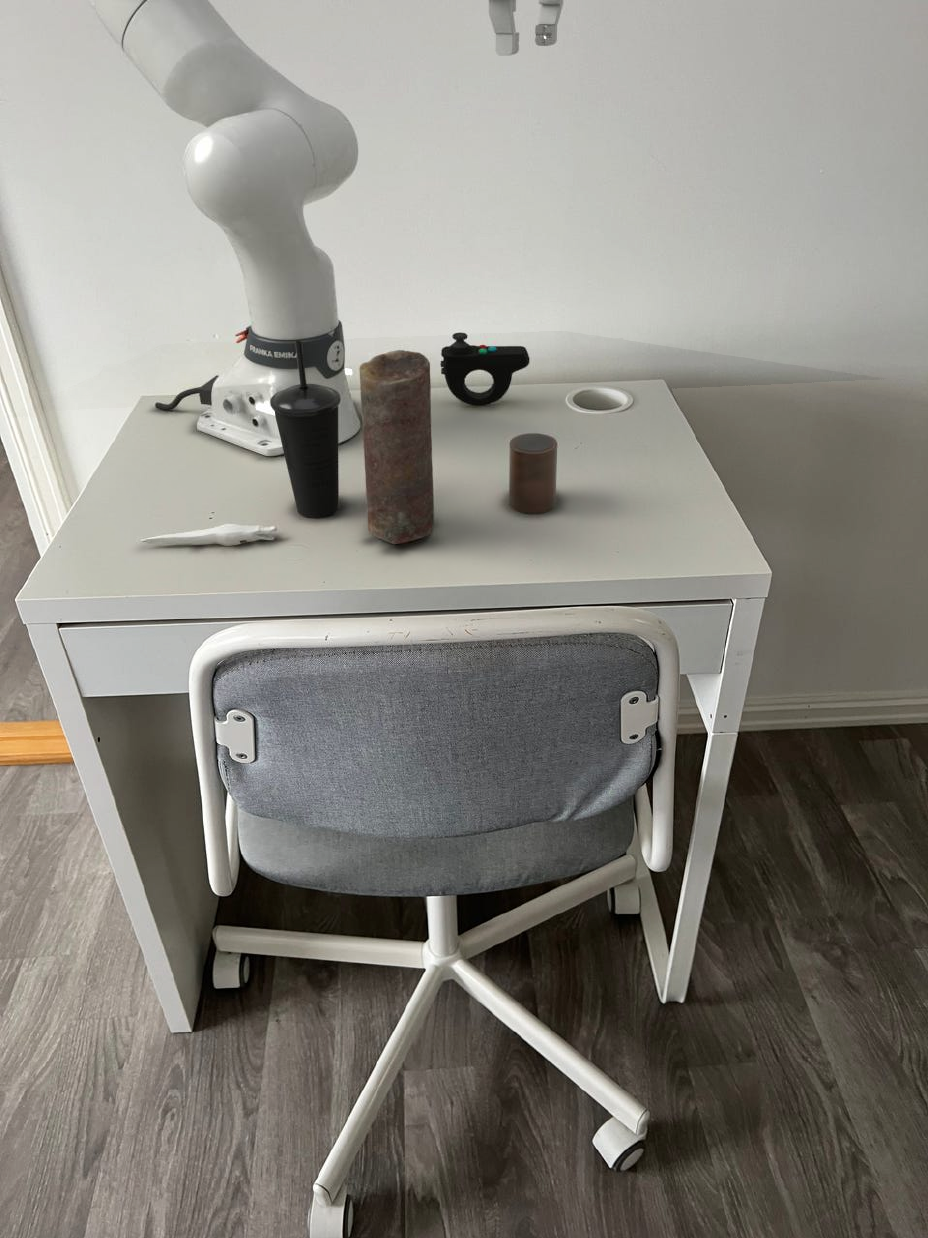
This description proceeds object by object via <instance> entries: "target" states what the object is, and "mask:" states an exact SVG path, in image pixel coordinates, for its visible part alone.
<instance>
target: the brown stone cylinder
mask: <svg viewBox="0 0 928 1238" xmlns="http://www.w3.org/2000/svg"><path fill="white" fill-rule="evenodd" d="M358 369H359V387H360V406H361V420H362V421H361V422H362V423H361V424H362V440H363V455H364V471H365V476H364V477H365V496H366V497H365V498H366V513H367V515H366V517H367V529H368V532H369V534H370V535H372V536H375V537H376V538H378V539H380V540H382V541H384V542H387V543H389V544H390V545H397V544H405V543H408V542H410V541H415V540H419V539H422V538H425V537H426V536H427V537H428V535H429V534H431V532H432V531H433V528H434V526H435V503H434V502H435V499H434V497H435V496H434V476H433V475H434V473H433V472H434V471H433V470H434V468H433V443H432V441H433V440H432V439H433V438H432V399H431V398H432V397H431V394H432V393H431V392H432V391H431V389H432V387H431V386H432V385H431V363H430V360H429V359H428V357H426V355H424V354H422V353H421V352H418V351H411V350H404V349H398V350H391V351H388V352H386V353H380V354H378V355H376V356H373V357H372V358H371V359H370V360H369V361H368V362H367V361H366V362H363V363H361V365H359V368H358Z"/></svg>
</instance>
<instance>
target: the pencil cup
mask: <svg viewBox="0 0 928 1238" xmlns="http://www.w3.org/2000/svg"><path fill="white" fill-rule="evenodd" d="M557 467H558V441H557V439H556V438H554V437H552V436H550V435H548V434H544V433H537V432H536V433H535V432H534V433H533V432H529V433H521V434H518V435H516V436H514V437H513V438H511V439H510V441H509V466H508V472H509V473H508V476H509V477H508V479H509V482H508V504H509V506H510V507H511V508H512V509H513V510H514V511H516V512H519V513H522V514H529V515H535V514H537V515H538V514H542V513H546V512H549V511H551V510H552V509H553V508H554V507H555V505H556V495H557V472H558V471H557V470H558V469H557Z"/></svg>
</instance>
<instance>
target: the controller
mask: <svg viewBox="0 0 928 1238" xmlns="http://www.w3.org/2000/svg"><path fill="white" fill-rule="evenodd" d="M452 339H453V340H455V341H454V342H453V343H452V344H450V345H445V346H444V347H442V348H441V351H440V355H441V357H442V360H440V363H439V364H440V365H439V367H440V368H441V369H440V374H441V375H444V379H445V383H446V385H447V387H448V389H449V391H450V392H451V394H452V395H453V396H454V397H455V398H456V399H457V400H459V401H460V402H462V403H463V404H466V405H469V406H473V407H483V406H488V405H491V404H494V403H496V402H498V401H499V400H501V399H502V398H503V397H504V396H505V395H506V394H507V392H508V390H509V388H510V386H511V384H512V379H513V374H514V373H516V372H518V371H521V370H523V369H526V368H527V367H528V366H529V365H530V361H531V359H530V355H529V352H528V349H527V348H526V347H525V346H523V345H486V344H480V345H473V344H472V345H471V344H469V343H467V342H466V341H465V340H467V339H468V334H467V333H465V332H455V333H453V334H452ZM474 371H475V372H476V371H484V372H486V373H488V374H489V375H490V376H491V379H492V384H491V386H490V387H489V388H488V389H487V390H485V391H481V392H476V391H473V390H471V389H470V388H468V386H467V385H466V378H467V376H468V375H469V374H470V373H472V372H474Z"/></svg>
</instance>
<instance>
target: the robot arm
mask: <svg viewBox="0 0 928 1238" xmlns="http://www.w3.org/2000/svg"><path fill="white" fill-rule="evenodd" d="M87 1H88V3H89V5H90V6H91V8H92V10H93V11H94V14H95V15H96V16H97V17H98V19H99V21H100V22H101V23H102V25H103V26H104V28H105V30H106V31H107V33H108V34H109V35H110V36H111V38H112V39H113V41H114V42H115V43H116V44H117V46H118V47H119V48H120V49H121V51H122V52H123V53H124V54H125V55H126V57H127V58H128V59H129V60H130V62H131V63H132V64H133V65H134V66H135V67H136V69H137V70H138V71H139V73H140V74H141V75H142V76H143V77H144V79H145V80H146V81H147V82H148V83H149V85H150V86H151V87H152V88H153V90H154V91H155V92H156V93H157V95H159V97H160V98H161V99H162V101H164V103H165V104H166V105H167V106H168V107H169V108H170V110H172V111H173V112H175V113H176V114H177V115H179V116H181V117H183V118H185V119H187V120H189V121H192V122H195V123H198V124H199V125H201V126H204V127H205V128H204V130H202V131H200V132H199V133H198V134H197V135H195V136H194V137H193V138H192V139H190V141H189V142H188V144H187V146H186V148H185V151H184V154H183V158H182V176H183V180H184V185H185V187H186V190H187V193H188V195H189V197H190V198H191V200H192V202H193V203H194V205H195V206H196V208H197V209H198V210H199V211H200V212H201V214H202V215H204V216H205V217H206V218H208V219H209V220H211V221H212V222H213V223H215V224H216V225H217V226H218V227H219V228H220V229H221V231H223V233H224V235H225V236H226V238H227V240H228V241H229V243H230V245H231V247H232V249H233V251H234V253H235V255H236V258H237V260H238V263H239V268H240V270H241V274H242V279H243V283H244V290H245V294H246V301H247V306H248V313H249V320H250V324H249V326H246V327H245V329H244V330H242V331H240V332H238V333H237V334H235V337H238V338H237V339H236V340H235V343H236V344H239V343H241V342H244V341H245V340H246V341H245V346H244V350H243V354H242V355H240V357H238V358H237V359H236V360H235V361H234V362H233V363H232V364H231V365H229V366H228V367H227V368H226V369H225V370H224V371H222V372H221V373H220V374H218V375H215V376H213V377H212V378H211V379H209V380H208V381H207V382H205V383H204V384H202V385H201V386H198V387H193V388H189V389H186V390H183V391H181V392H179V393H178V394H177V395H176V396H175V398H174V399H173V400H172V401H171V402H170V403H169V404H167V403H162V402H155V404H154V407H155V409H157V410H158V409H159V410H162V411H171V410H174V409H175V408H177V407H178V405H179V404H180V403H181V401H182V400H184V399H186V398H187V397H189V396H193V395H196V394H198V395H199V401H200V405H204V406H205V405H207V406H211V407H210V408H208V409H206V410H205V411H204V412H203V413H202V414H201V415H200V416H199V417H198V419H197V421H196V427H197V430H198V431H200V432H202V433H204V434H207V435H210V436H212V437H215V438H218V439H220V440H222V441H226V442H228V443H229V444H230V443H231V444H233V445H236V446H237V447H238V446H239V447H241V448H244V449H247V450H249V451H251V452H254V453H257V454H259V455H262V456H264V457H265V456H266V457H274V456H275V457H276V456H280V455H284V451H283V447H282V443H281V439H280V434H279V430H278V426H277V422H276V417H275V413H274V411H273V410H272V408H271V406H270V399H271V397H272V396H273V395H274V394H276V393H277V392H279V391H282V390H284V389H286V388H289V387H291V386H294V385H299V384H300V378H299V370H298V362H297V353H296V345H295V341H296V340H301V341H302V350H303V358H304V366H305V375H306V383H307V384H317V385H321V386H326V387H329V388H332V389H334V390H336V391H337V392H338V393H339V394H340V398H341V401H340V404H339V405H338V445H339V444H341V443H344V442H345V441H347V440H349V439H351V438H353V437H354V436H355V435H356V434H357V433H358V432H359V430H360V428H361V426H362V425H361V424H362V423H361V420H360V418H359V416H358V413H357V411H356V408H355V405H354V401H353V398H352V395H351V394H352V393H351V391H350V387H349V383H348V379H347V376H348V375H350V376H352V375H353V369H351V368H346V367H345V363H346V348H345V347H346V345H345V336H344V329H343V323H342V321H341V319H339V312H338V311H339V310H338V301H337V300H338V299H337V291H336V289H337V288H336V280H335V269H334V264H333V261H332V259H331V258H330V256H329V254H327V253H326V251H325V250H323V249H322V248H320V247H319V246H317V245H315V243H314V241H313V239H312V237H311V234H310V232H309V229H308V227H307V224H306V219H305V216H304V215H305V214H304V206H307V205H309V204H312V203H314V202H317V201H320V200H322V199H325V198H327V197H329V196H331V195H332V194H333V193H334V192H336V191H337V190H339V188H340V187H342V185H344V184H345V182H347V181H348V180H349V179H350V178H351V177H352V175H353V174H354V171H355V169H356V167H357V165H358V164H357V163H358V159H359V141H358V139H357V135H356V132H355V128H354V127H353V125H352V123H351V122H350V120H349V119H348V117H347V116H346V115H345V114H344V113H343V112H342V111H341V110H340V109H339V108H337V107H336V106H333V105H331V104H329V103H327V102H325V101H321V100H320V99H318V98H315V97H314V96H312V95H310V94H309V93H307V92H305V91H304V90H303V89H301V88H300V87H299V86H298V85H296V84H295V83H293V82H292V81H291V80H289V79H288V78H287V77H286V76H284V75H283V74H282V73H280V72H279V71H278V70H277V69H275V68H274V67H273V66H272V65H270V64H269V63H268V62H267V61H265V60H264V59H263V58H262V57H260V56H259V55H258V54H257V53H256V52H255V51H254V50H253V49H251V48H250V47H249V46H248V45H247V44H246V43H245V41H244V40H242V39H241V38H240V36H239V35H237V33H236V32H235V31H234V30H233V28H232V27H231V26H230V24H228V23H227V21H226V20H225V19H224V17H223V16H222V15H221V14H220V13H219V12H218V10H217V9H216V8H215V6H213V4H212V3H211V2H210V1H209V0H87ZM538 4H539V5H540V9H539V16H538V24H536V25H535V26H534V34H535V36H534V43H535V44H536V45H537V46H538V47H548V46H553V45H555V44H557V41H558V24H559V21H560V18H561V14H562V10H563V6H564V0H538ZM516 11H517V0H488V15H489V18H490V21H491V25H492V28H493V32H494V37H495V53H496V54H497V56H502V57H503V56H504V57H505V56H506V57H509V56H513V55H516V54H518V52H519V50H520V44H519V43H520V32H517V30H516V23H515V16H514V12H516Z"/></svg>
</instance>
